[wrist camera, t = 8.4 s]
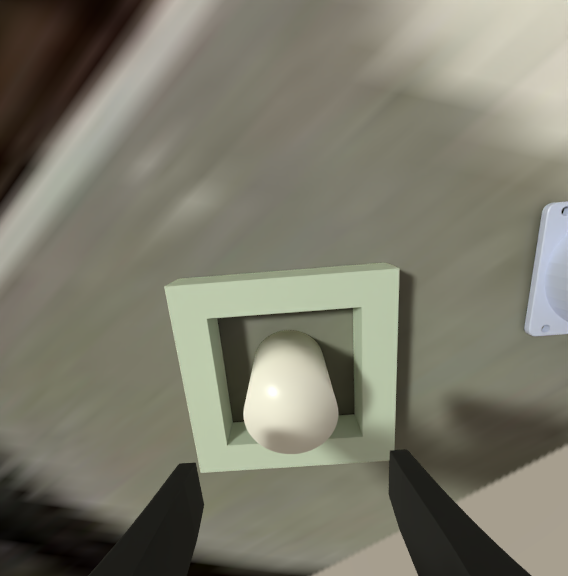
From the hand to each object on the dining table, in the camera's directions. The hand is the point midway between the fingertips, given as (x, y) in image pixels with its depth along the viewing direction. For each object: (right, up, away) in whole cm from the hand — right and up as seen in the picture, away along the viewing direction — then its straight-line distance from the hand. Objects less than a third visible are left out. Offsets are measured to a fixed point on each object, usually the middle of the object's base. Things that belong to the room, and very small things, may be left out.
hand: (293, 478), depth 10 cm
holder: (0, +2, +8) cm, 8 cm away
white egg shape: (0, +2, +8) cm, 8 cm away
